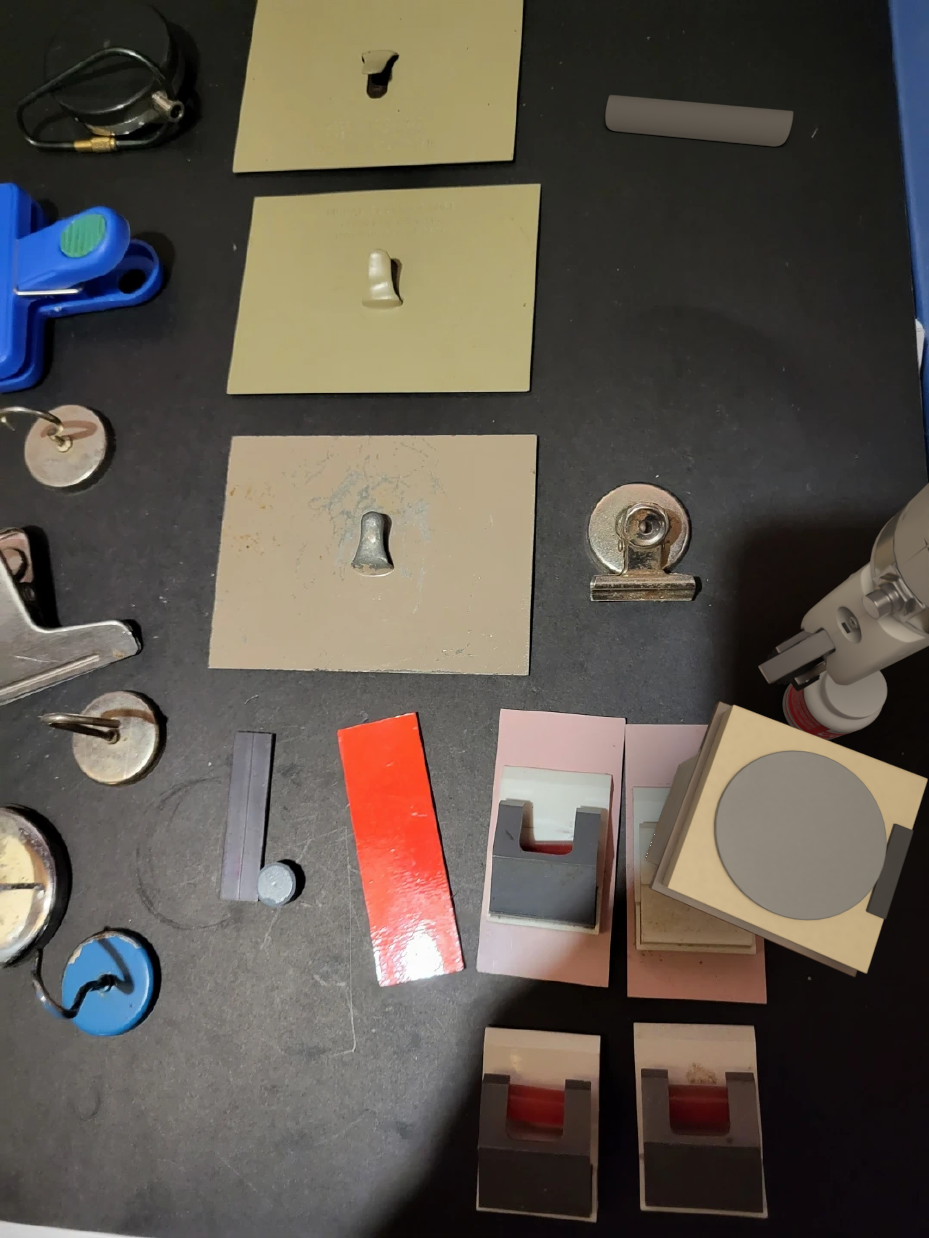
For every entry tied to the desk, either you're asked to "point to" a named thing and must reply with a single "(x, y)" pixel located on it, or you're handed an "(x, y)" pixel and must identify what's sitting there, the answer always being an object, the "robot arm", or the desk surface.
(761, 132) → the gray half cylinder
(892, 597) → the robot arm
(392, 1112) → the desk surface
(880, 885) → the scale
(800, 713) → the pill bottle
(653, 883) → the stand
